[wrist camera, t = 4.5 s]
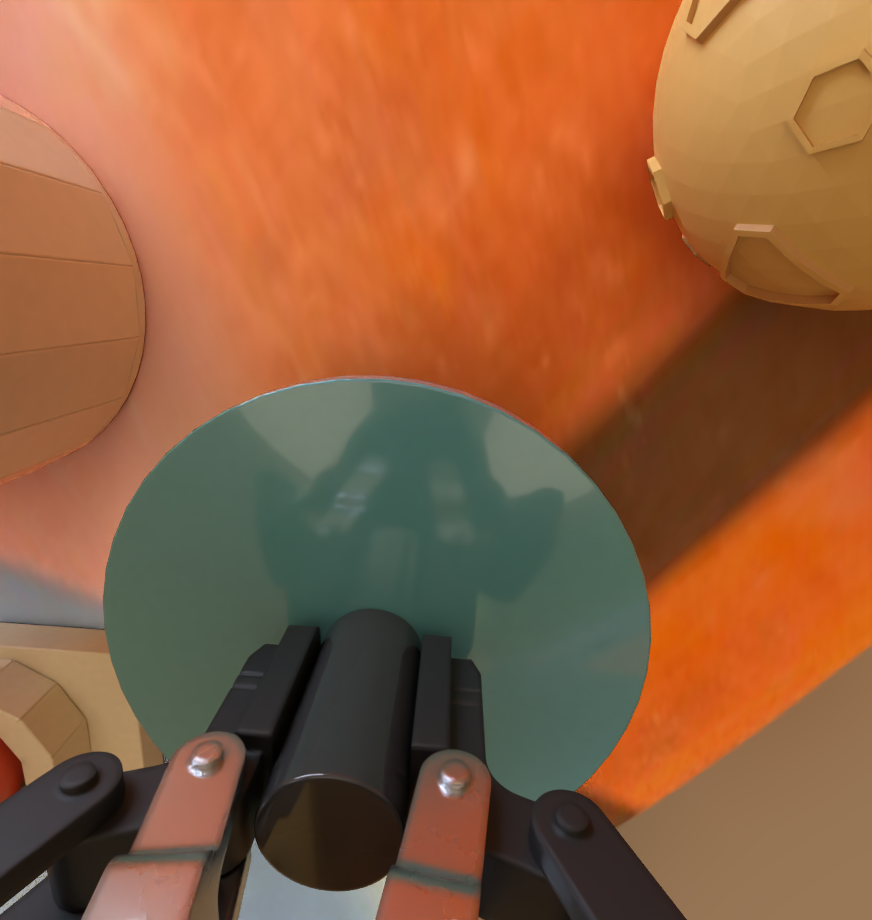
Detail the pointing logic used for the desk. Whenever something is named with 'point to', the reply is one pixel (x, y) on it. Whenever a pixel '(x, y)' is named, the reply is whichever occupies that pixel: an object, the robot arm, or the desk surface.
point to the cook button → (9, 772)
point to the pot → (60, 299)
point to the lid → (377, 600)
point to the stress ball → (771, 146)
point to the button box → (65, 700)
